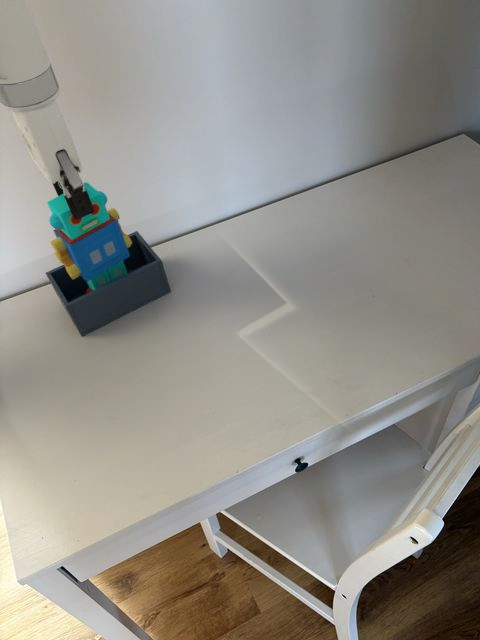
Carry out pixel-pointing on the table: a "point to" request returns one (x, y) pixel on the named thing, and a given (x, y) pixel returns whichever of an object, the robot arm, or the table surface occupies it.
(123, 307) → the tote
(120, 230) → the toy robot
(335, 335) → the table surface
